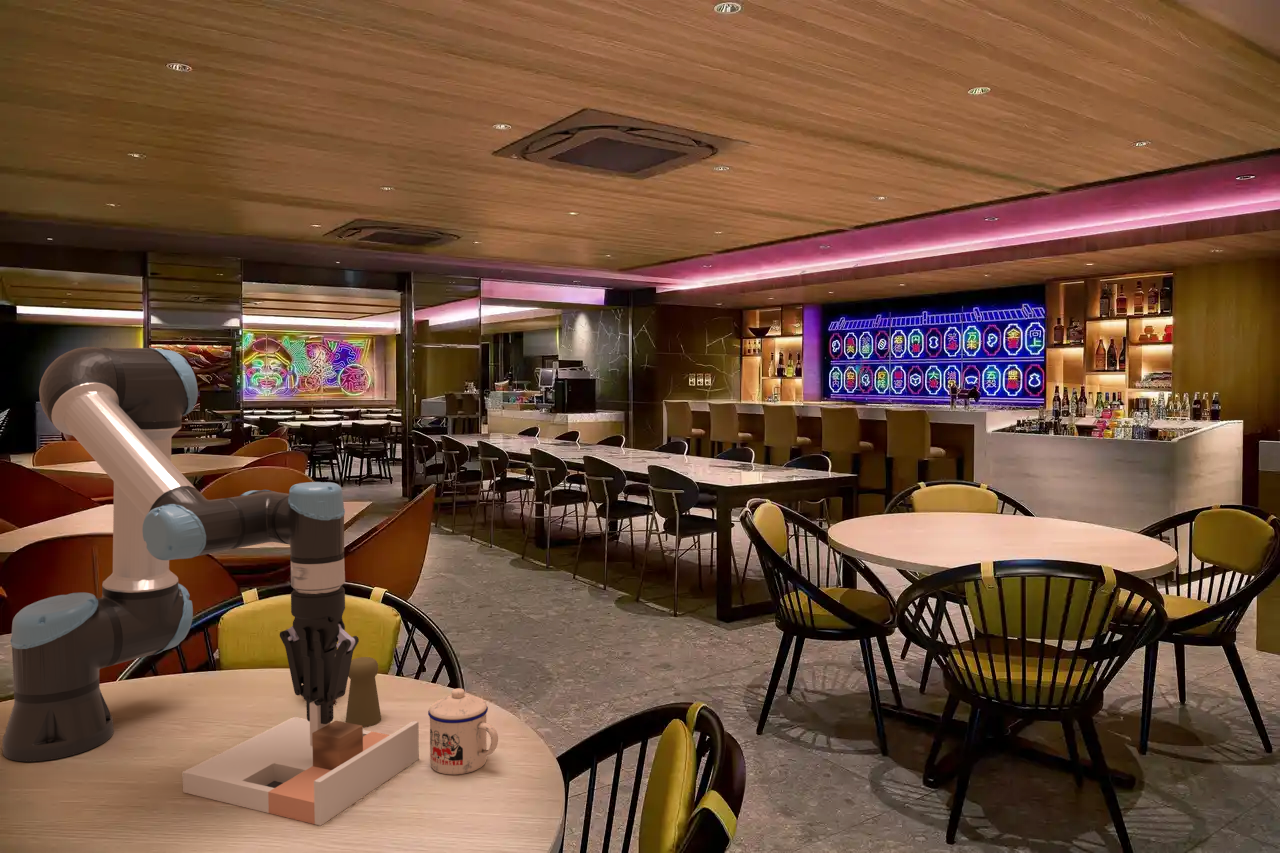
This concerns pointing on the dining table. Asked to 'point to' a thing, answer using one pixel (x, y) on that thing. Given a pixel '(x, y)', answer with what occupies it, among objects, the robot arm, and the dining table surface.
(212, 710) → the dining table surface
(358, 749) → the walnut block
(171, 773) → the dining table surface
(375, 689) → the cork
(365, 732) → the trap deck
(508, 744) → the dining table surface
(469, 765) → the teacup with lid
